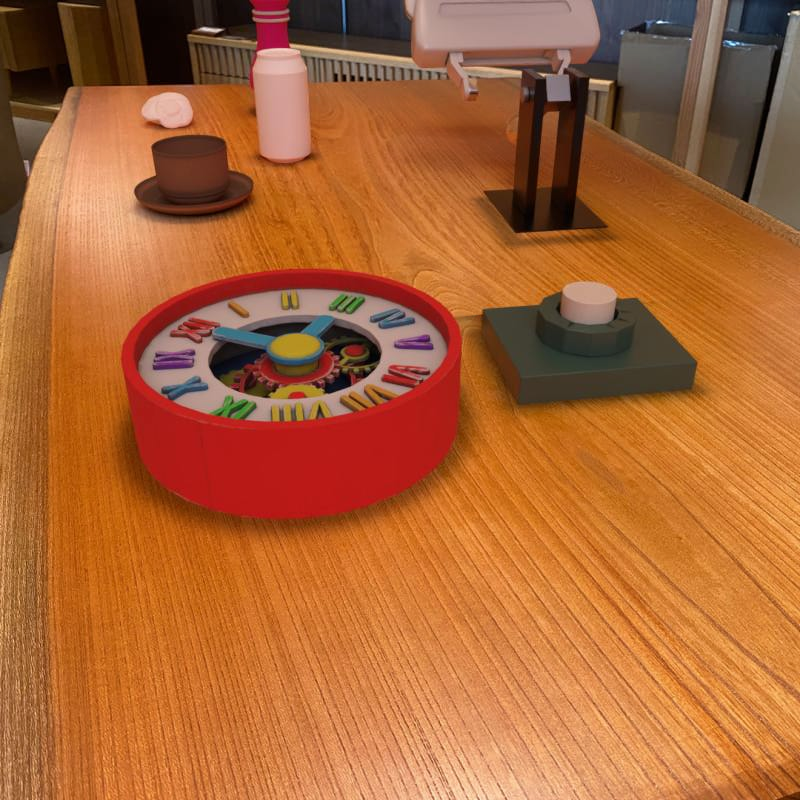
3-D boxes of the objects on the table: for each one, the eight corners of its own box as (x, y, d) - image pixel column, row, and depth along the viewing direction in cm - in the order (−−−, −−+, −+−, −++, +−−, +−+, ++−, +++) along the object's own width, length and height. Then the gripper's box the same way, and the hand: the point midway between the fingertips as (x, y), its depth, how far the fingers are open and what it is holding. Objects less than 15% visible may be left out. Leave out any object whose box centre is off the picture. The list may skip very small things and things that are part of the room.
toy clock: (381, 466, 39) (42, 381, 45) (382, 560, 42) (65, 468, 49) (503, 296, 55) (239, 251, 61) (498, 374, 58) (246, 323, 64)
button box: (632, 323, 64) (640, 274, 62) (692, 390, 56) (703, 337, 54) (480, 335, 63) (483, 285, 60) (518, 406, 54) (523, 352, 52)
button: (602, 302, 59) (605, 279, 58) (621, 325, 56) (625, 301, 55) (552, 305, 59) (555, 282, 58) (570, 329, 56) (573, 305, 55)
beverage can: (250, 157, 101) (240, 51, 95) (292, 148, 105) (285, 45, 98) (279, 169, 97) (271, 59, 91) (322, 158, 101) (317, 52, 94)
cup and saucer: (125, 196, 89) (115, 137, 86) (234, 179, 94) (228, 123, 91) (152, 232, 80) (142, 168, 77) (271, 212, 85) (266, 151, 82)
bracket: (482, 201, 88) (490, 62, 80) (565, 197, 89) (580, 59, 82) (514, 244, 78) (526, 89, 70) (606, 238, 79) (628, 85, 72)
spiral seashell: (194, 121, 117) (195, 94, 114) (190, 138, 113) (191, 110, 110) (142, 113, 116) (142, 85, 113) (136, 130, 112) (136, 101, 109)
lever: (502, 153, 88) (499, 118, 88) (535, 151, 89) (532, 117, 89) (540, 108, 75) (537, 68, 75) (579, 106, 76) (575, 67, 76)
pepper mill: (285, 104, 124) (275, -49, 114) (313, 113, 120) (305, -45, 109) (243, 111, 121) (228, -46, 110) (270, 121, 116) (257, -42, 105)
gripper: (405, -38, 87) (421, 81, 84) (593, -40, 90) (615, 75, 87) (398, 4, 93) (412, 116, 90) (574, 1, 96) (594, 109, 93)
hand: (513, 96), depth 88 cm, fingers open, 8 cm apart
